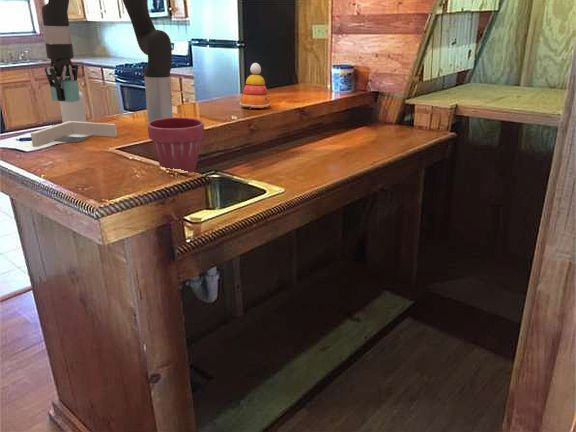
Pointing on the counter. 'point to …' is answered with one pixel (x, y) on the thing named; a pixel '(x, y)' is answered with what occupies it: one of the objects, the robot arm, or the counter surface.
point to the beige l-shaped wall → (72, 131)
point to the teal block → (67, 91)
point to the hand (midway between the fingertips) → (65, 99)
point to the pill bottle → (73, 110)
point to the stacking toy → (255, 89)
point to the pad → (71, 139)
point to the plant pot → (176, 141)
